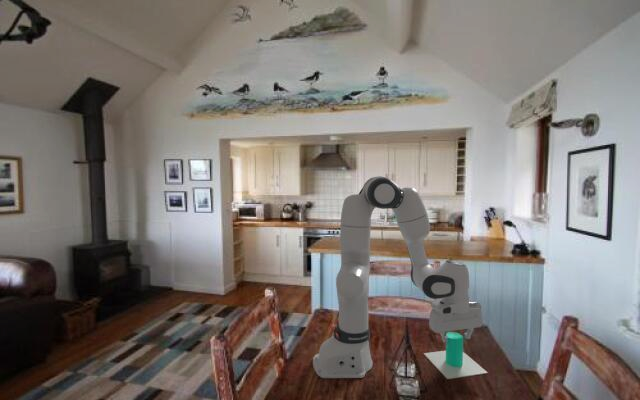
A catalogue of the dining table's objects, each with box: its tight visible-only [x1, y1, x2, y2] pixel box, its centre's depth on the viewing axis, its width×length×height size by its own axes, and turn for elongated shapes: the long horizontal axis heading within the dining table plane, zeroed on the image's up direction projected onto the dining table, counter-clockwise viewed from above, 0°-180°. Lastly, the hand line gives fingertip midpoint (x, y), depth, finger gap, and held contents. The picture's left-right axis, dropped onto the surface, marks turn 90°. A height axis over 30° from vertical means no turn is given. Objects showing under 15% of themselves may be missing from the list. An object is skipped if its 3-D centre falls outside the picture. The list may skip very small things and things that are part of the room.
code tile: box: [423, 350, 489, 380], centre depth 119 cm, size 16×16×1 cm
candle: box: [445, 331, 464, 367], centre depth 118 cm, size 6×6×12 cm
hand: (456, 340), depth 118 cm, fingers open, 8 cm apart
